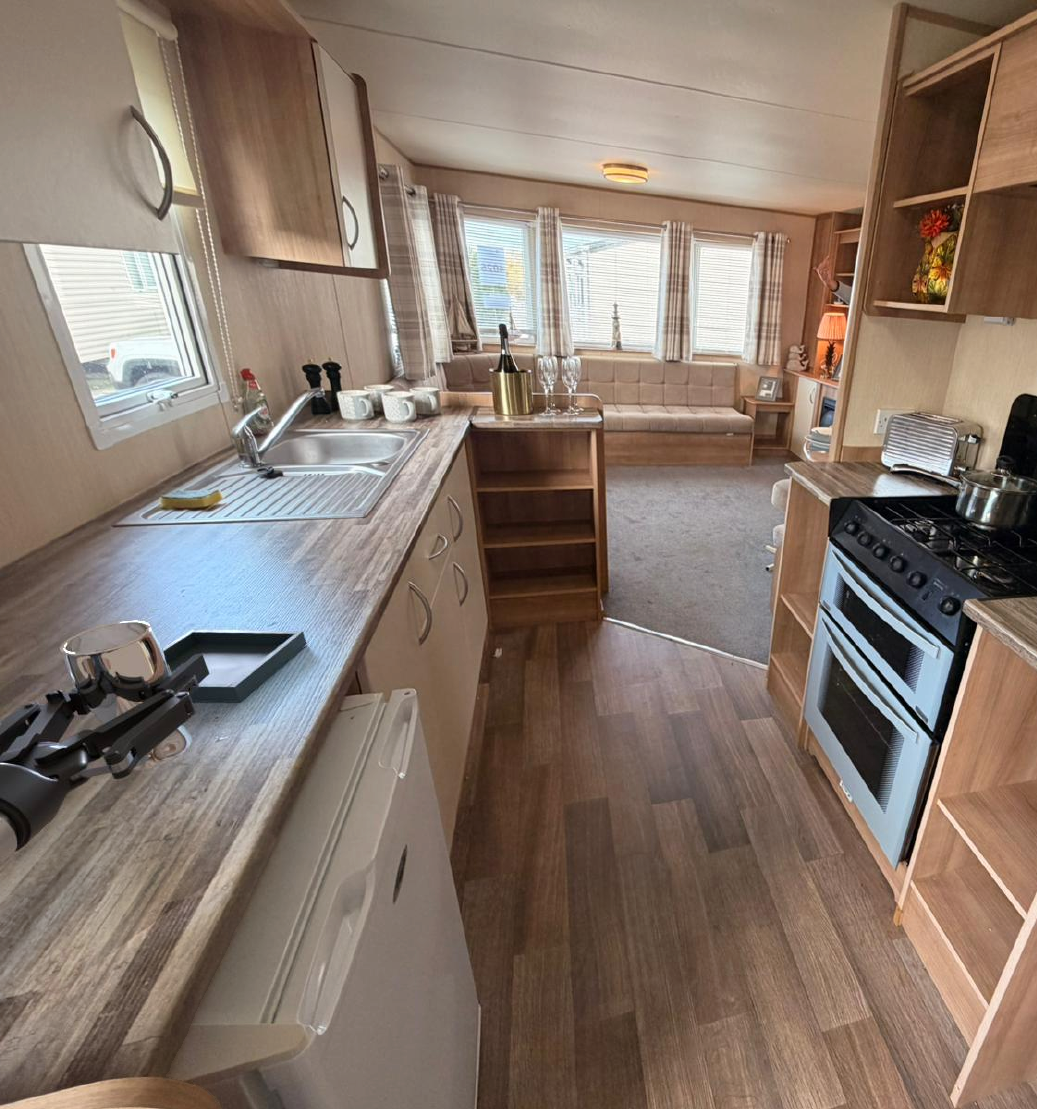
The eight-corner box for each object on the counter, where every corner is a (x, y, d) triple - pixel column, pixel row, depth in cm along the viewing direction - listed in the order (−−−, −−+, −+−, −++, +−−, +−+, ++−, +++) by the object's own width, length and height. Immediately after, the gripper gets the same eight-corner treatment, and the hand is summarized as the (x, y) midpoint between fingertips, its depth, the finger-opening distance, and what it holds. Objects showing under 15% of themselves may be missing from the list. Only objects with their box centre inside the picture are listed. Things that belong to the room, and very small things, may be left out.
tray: (110, 701, 79) (102, 685, 78) (197, 643, 92) (191, 629, 91) (240, 702, 80) (234, 687, 79) (307, 645, 93) (303, 631, 92)
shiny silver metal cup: (98, 762, 64) (40, 645, 58) (174, 724, 70) (129, 614, 64) (136, 782, 62) (80, 662, 56) (212, 741, 68) (169, 629, 62)
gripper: (-170, 880, 46) (73, 699, 67) (128, 849, 50) (270, 687, 71) (-227, 809, 43) (45, 643, 64) (94, 782, 47) (253, 633, 68)
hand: (163, 666), depth 67 cm, fingers closed on shiny silver metal cup, 7 cm apart
